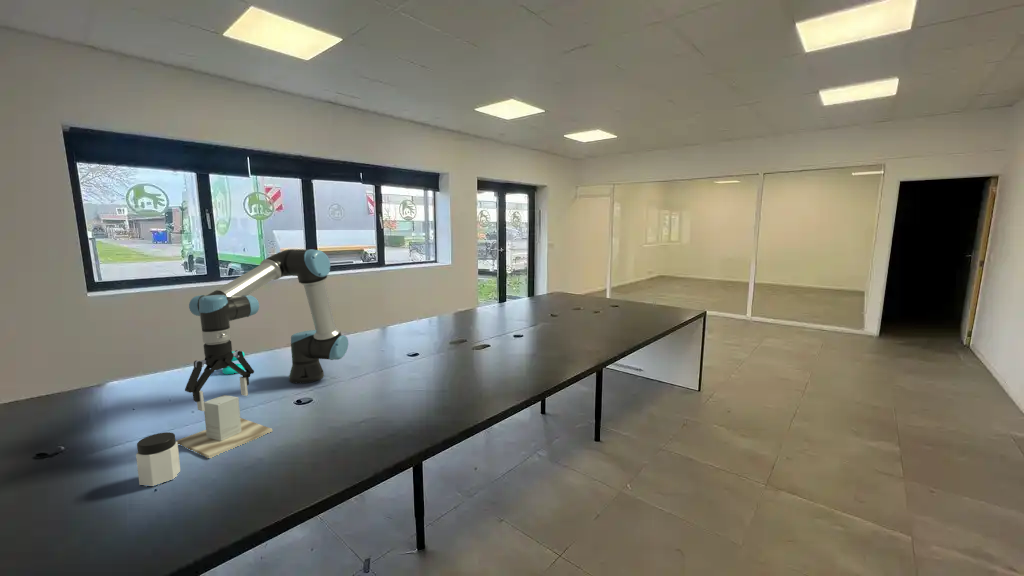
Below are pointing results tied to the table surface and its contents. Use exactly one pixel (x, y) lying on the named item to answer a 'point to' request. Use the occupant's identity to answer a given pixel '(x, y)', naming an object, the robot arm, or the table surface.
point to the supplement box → (222, 417)
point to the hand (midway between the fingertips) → (223, 402)
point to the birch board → (216, 447)
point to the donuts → (229, 369)
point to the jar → (157, 459)
